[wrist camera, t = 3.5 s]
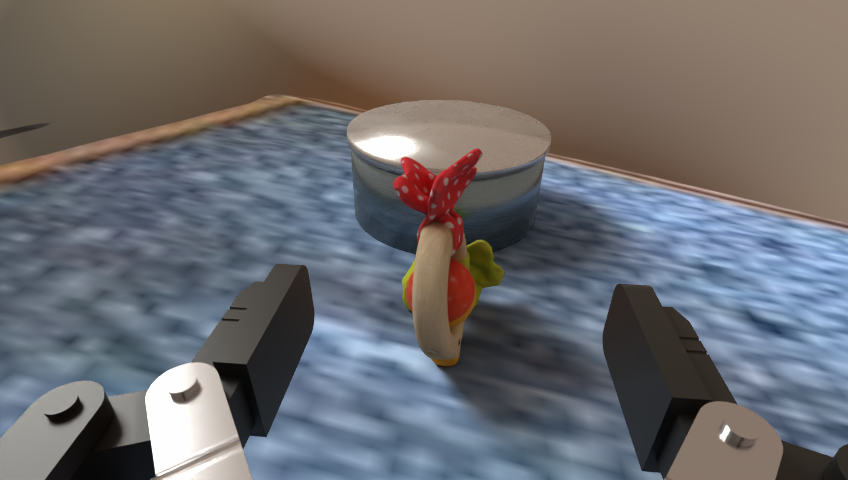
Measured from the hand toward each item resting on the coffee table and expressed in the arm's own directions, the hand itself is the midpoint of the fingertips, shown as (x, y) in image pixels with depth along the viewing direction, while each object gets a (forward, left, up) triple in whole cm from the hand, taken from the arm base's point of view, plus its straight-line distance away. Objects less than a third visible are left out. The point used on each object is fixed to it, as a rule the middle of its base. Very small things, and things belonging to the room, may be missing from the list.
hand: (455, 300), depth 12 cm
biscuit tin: (+25, +1, -11) cm, 28 cm away
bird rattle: (+10, 0, -11) cm, 15 cm away
